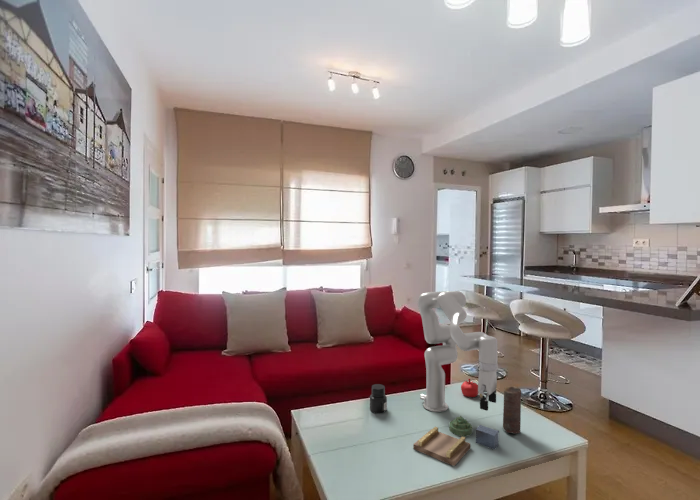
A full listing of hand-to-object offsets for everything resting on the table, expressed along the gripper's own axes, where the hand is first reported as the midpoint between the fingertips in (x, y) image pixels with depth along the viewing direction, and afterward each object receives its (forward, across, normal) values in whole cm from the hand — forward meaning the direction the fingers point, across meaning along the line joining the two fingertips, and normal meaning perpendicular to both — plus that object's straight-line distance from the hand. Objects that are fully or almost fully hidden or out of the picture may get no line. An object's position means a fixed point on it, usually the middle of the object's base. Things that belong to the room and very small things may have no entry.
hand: (488, 405), depth 155 cm
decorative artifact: (+17, -3, -14) cm, 22 cm away
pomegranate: (+16, -43, -26) cm, 53 cm away
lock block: (+17, 0, -1) cm, 17 cm away
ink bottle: (+16, +5, -55) cm, 57 cm away
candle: (+17, -17, +4) cm, 25 cm away
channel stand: (+17, +16, -14) cm, 27 cm away
